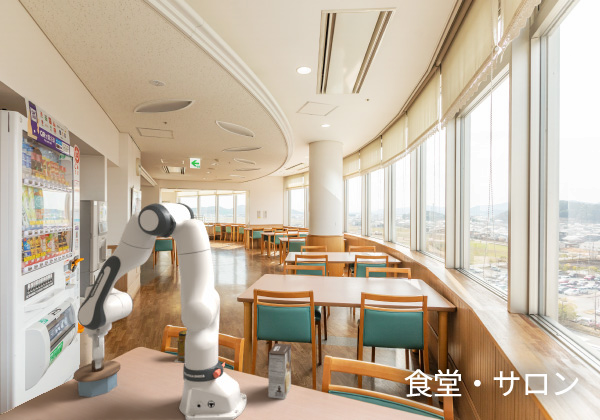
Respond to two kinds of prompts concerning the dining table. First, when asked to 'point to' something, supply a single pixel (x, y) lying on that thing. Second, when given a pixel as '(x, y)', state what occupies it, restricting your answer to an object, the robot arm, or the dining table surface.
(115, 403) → the dining table surface
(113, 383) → the bowl
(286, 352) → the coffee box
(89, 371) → the lid
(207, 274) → the robot arm
